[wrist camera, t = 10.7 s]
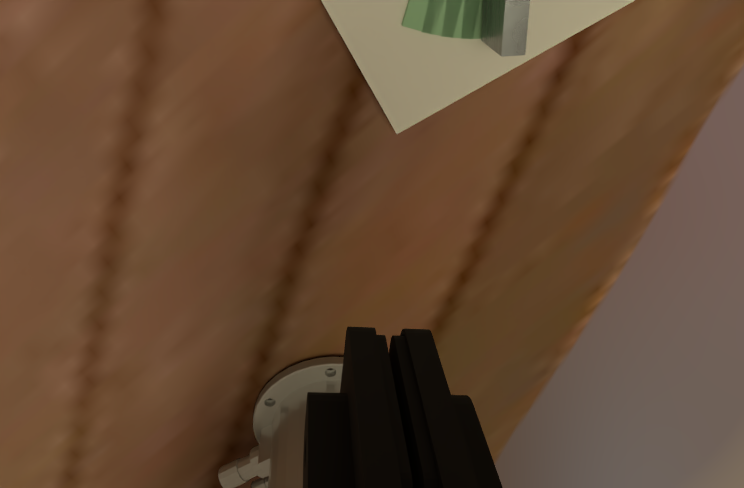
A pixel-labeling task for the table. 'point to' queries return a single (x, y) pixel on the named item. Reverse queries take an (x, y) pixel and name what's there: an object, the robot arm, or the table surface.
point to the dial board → (444, 47)
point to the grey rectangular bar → (505, 26)
